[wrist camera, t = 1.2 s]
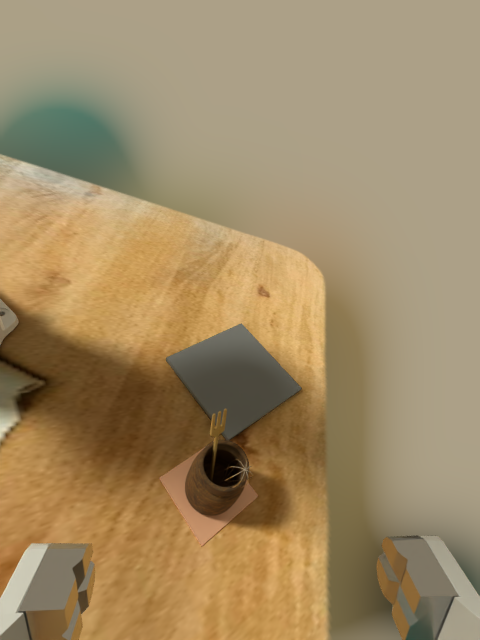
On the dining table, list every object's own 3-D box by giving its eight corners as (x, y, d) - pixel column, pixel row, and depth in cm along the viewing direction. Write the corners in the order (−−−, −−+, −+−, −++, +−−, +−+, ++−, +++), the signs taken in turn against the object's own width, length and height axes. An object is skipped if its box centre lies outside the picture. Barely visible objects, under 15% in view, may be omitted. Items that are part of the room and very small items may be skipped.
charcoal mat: (165, 360, 49) (166, 357, 49) (240, 325, 57) (241, 323, 57) (227, 441, 43) (228, 439, 43) (300, 390, 52) (301, 388, 51)
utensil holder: (198, 529, 36) (225, 491, 28) (173, 473, 39) (190, 422, 31) (246, 501, 39) (283, 458, 31) (218, 450, 42) (245, 399, 34)
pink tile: (158, 478, 39) (159, 477, 39) (215, 439, 43) (216, 439, 43) (201, 546, 35) (201, 546, 35) (258, 496, 40) (258, 496, 40)
